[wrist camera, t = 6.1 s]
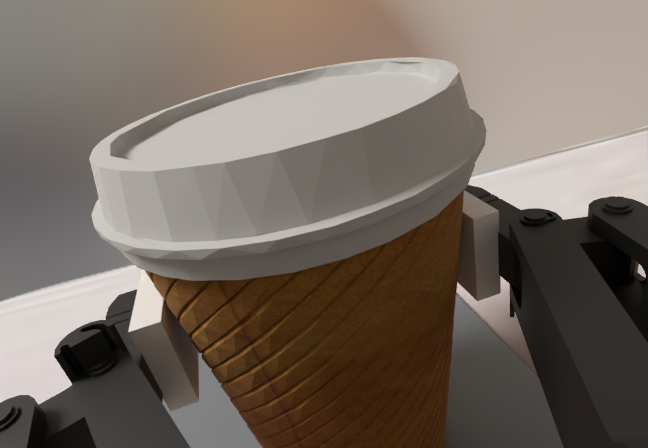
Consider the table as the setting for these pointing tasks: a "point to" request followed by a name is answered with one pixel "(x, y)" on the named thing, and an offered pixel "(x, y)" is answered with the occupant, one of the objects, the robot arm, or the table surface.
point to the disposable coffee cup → (308, 242)
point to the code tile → (462, 408)
